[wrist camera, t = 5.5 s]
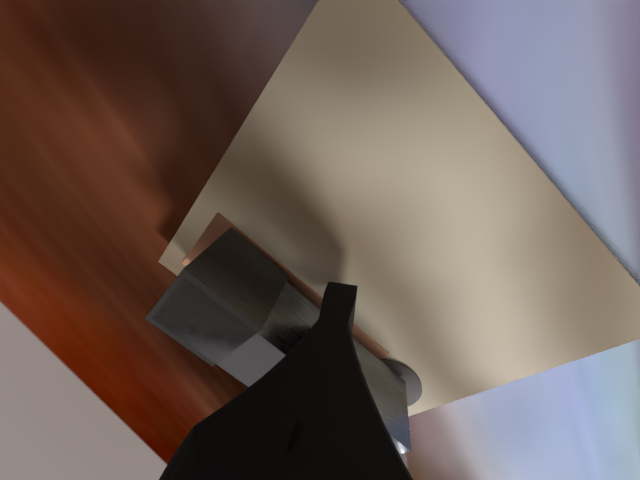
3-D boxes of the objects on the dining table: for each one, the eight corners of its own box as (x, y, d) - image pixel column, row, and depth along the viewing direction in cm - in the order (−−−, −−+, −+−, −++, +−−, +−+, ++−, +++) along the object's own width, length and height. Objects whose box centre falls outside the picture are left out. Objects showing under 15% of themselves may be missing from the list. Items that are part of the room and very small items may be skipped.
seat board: (379, 406, 17) (379, 429, 16) (174, 249, 14) (155, 264, 13) (644, 304, 10) (679, 331, 9) (356, -34, 7) (351, -60, 6)
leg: (423, 390, 13) (435, 475, 10) (369, 409, 15) (366, 486, 12) (231, 227, 11) (174, 276, 8) (193, 272, 12) (136, 326, 10)
